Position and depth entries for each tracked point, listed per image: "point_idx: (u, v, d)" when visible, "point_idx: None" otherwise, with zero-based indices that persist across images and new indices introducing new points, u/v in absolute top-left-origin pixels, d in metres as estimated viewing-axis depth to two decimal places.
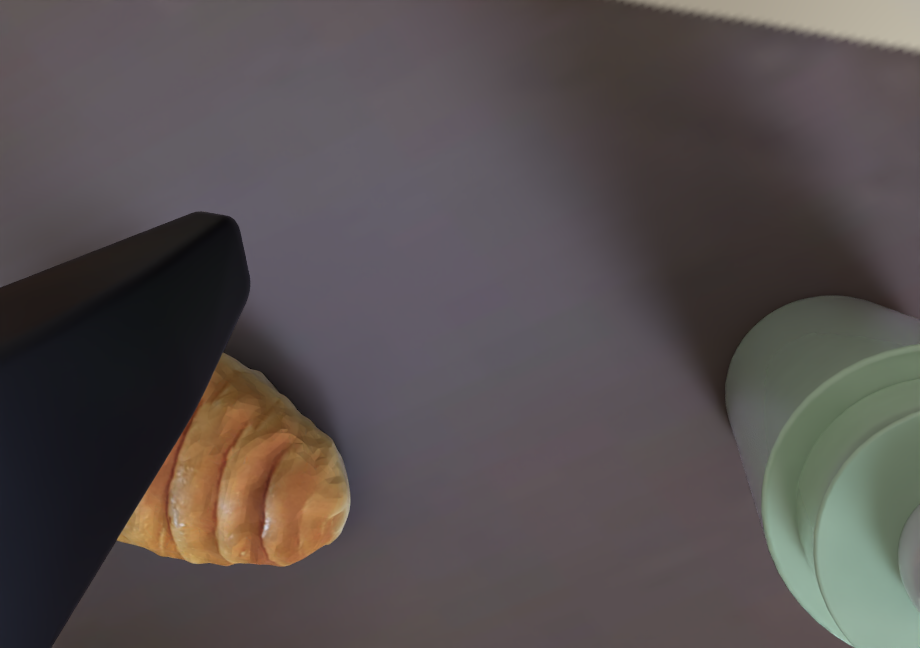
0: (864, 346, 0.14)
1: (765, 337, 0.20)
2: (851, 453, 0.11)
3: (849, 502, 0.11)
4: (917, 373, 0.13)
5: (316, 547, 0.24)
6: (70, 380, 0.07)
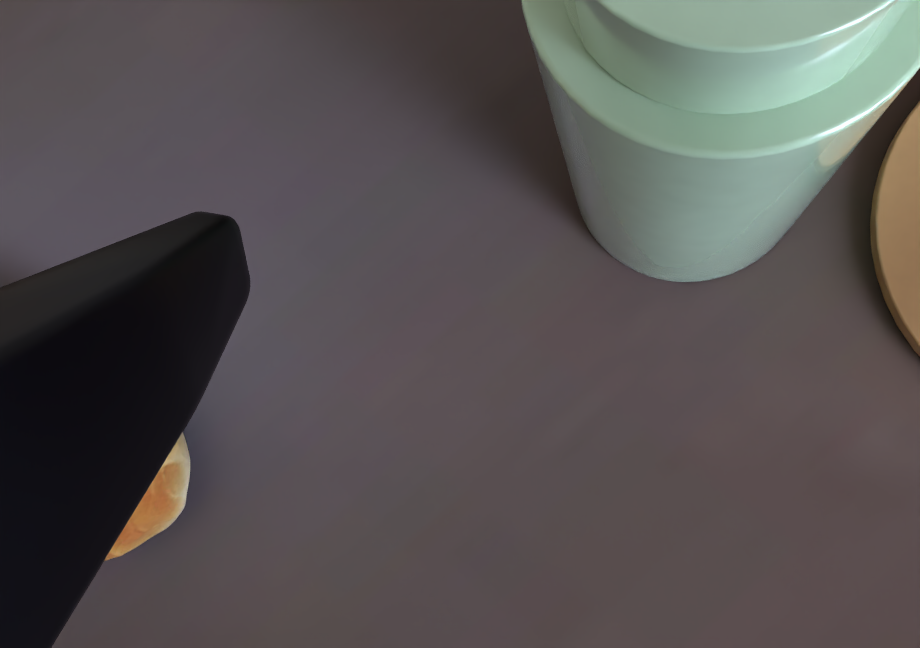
0: None
1: None
2: None
3: None
4: None
5: (149, 513, 0.19)
6: (70, 380, 0.07)
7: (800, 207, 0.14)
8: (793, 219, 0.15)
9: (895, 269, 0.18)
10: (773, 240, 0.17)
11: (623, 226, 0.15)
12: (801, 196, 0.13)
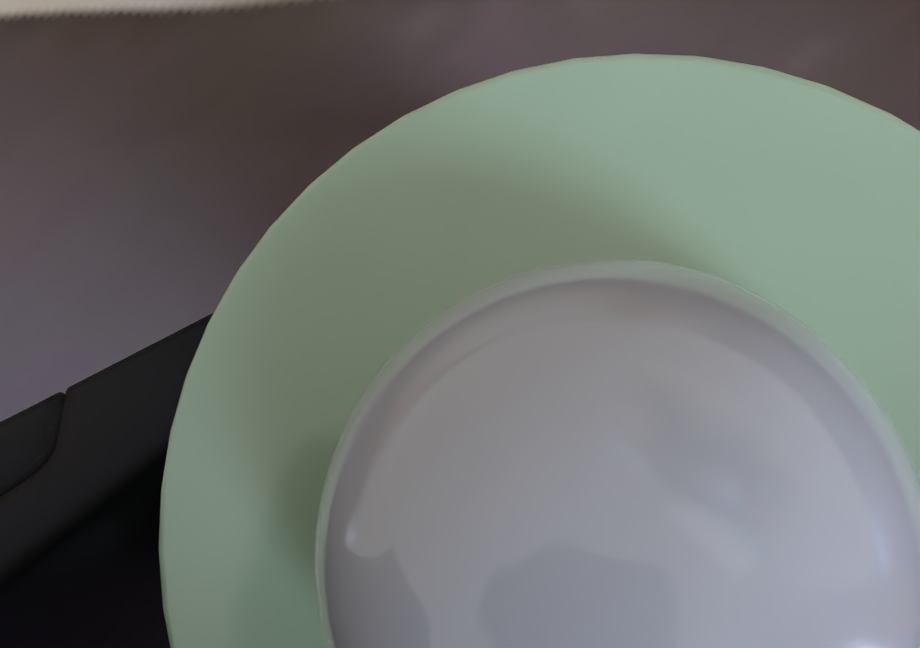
0: None
1: None
2: (202, 344, 0.04)
3: (216, 480, 0.04)
4: None
5: None
6: None
7: None
8: None
9: None
10: None
11: None
12: None
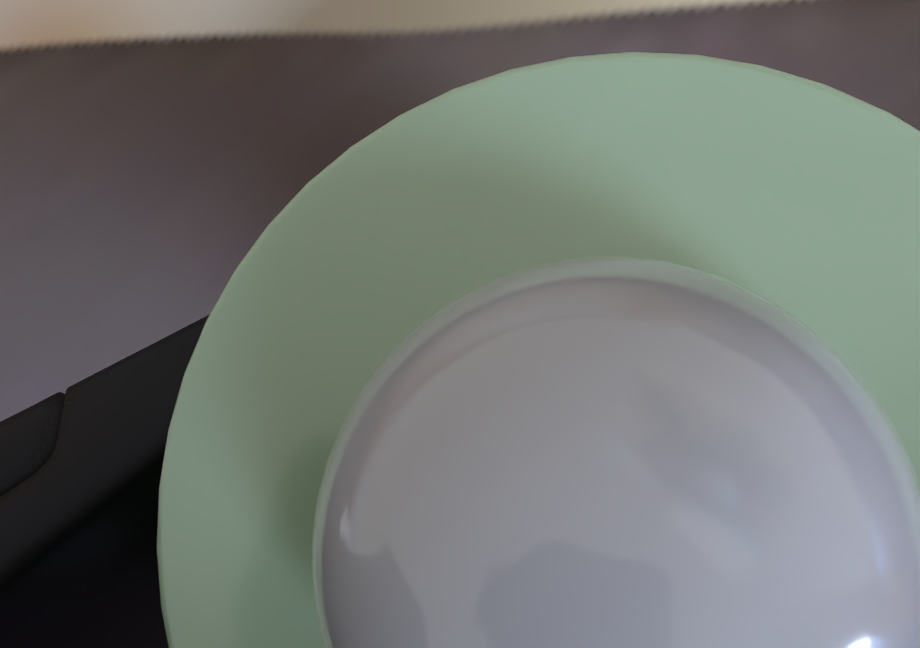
0: None
1: None
2: (198, 342, 0.04)
3: (215, 479, 0.04)
4: None
5: None
6: None
7: None
8: None
9: None
10: None
11: None
12: None
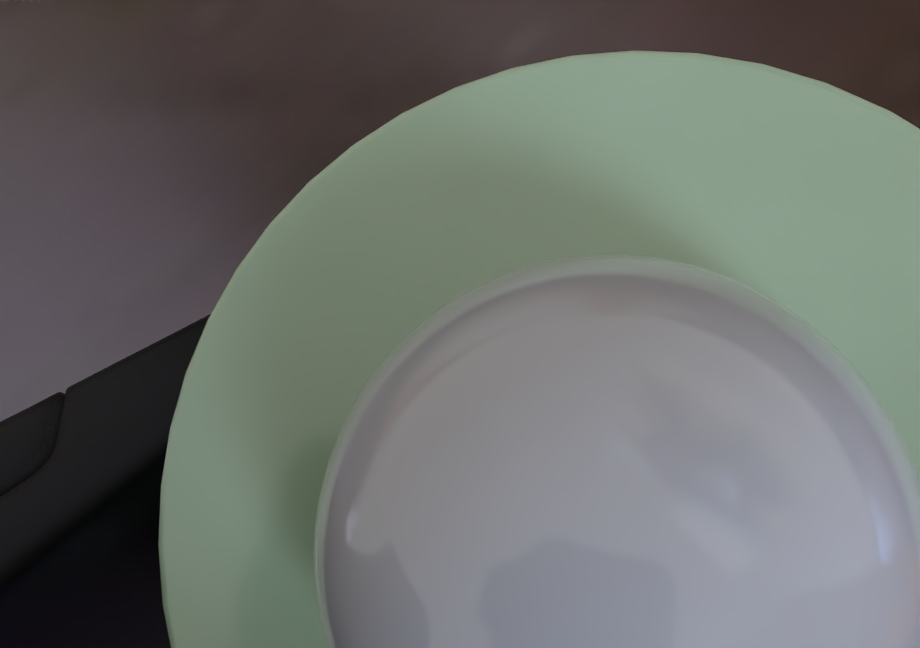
0: None
1: None
2: (200, 342, 0.04)
3: (217, 477, 0.04)
4: None
5: None
6: None
7: None
8: None
9: None
10: None
11: None
12: None
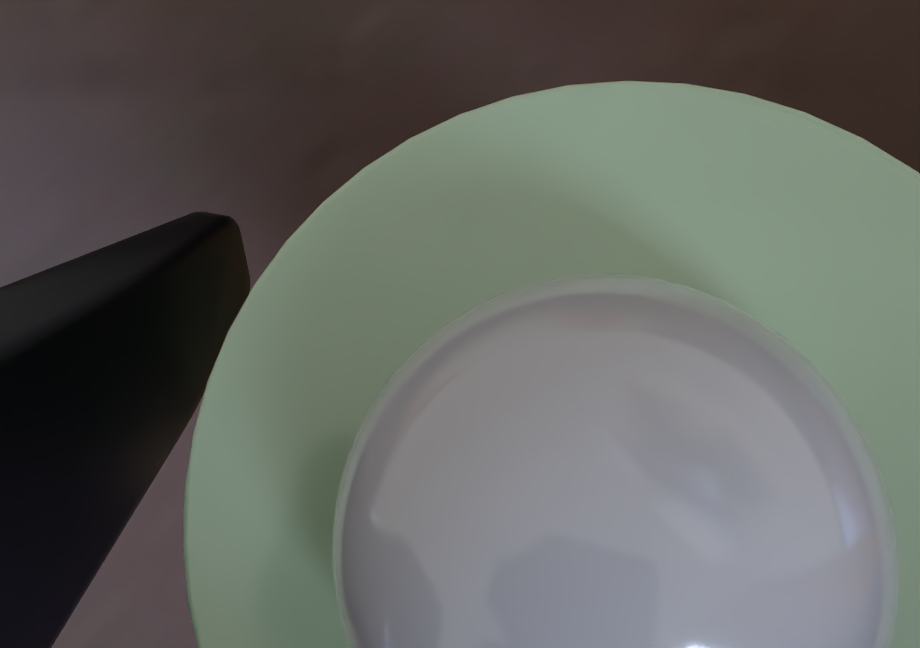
0: None
1: None
2: (223, 351, 0.04)
3: (237, 479, 0.04)
4: None
5: None
6: (70, 380, 0.07)
7: None
8: None
9: None
10: None
11: None
12: None
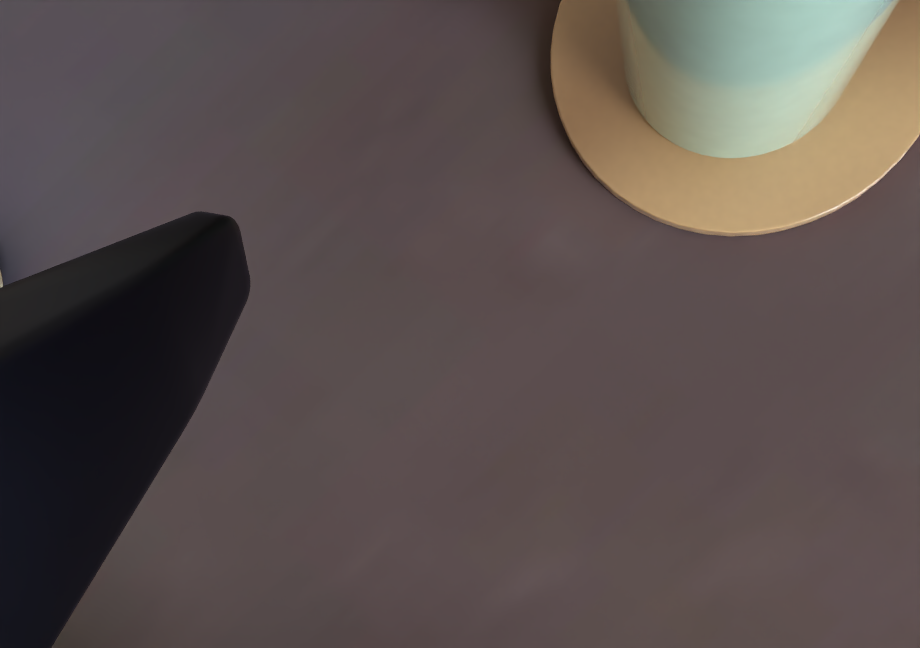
0: None
1: None
2: None
3: None
4: None
5: None
6: (70, 380, 0.07)
7: (855, 52, 0.15)
8: (846, 74, 0.16)
9: (564, 93, 0.21)
10: (824, 103, 0.17)
11: (680, 83, 0.16)
12: (858, 30, 0.13)
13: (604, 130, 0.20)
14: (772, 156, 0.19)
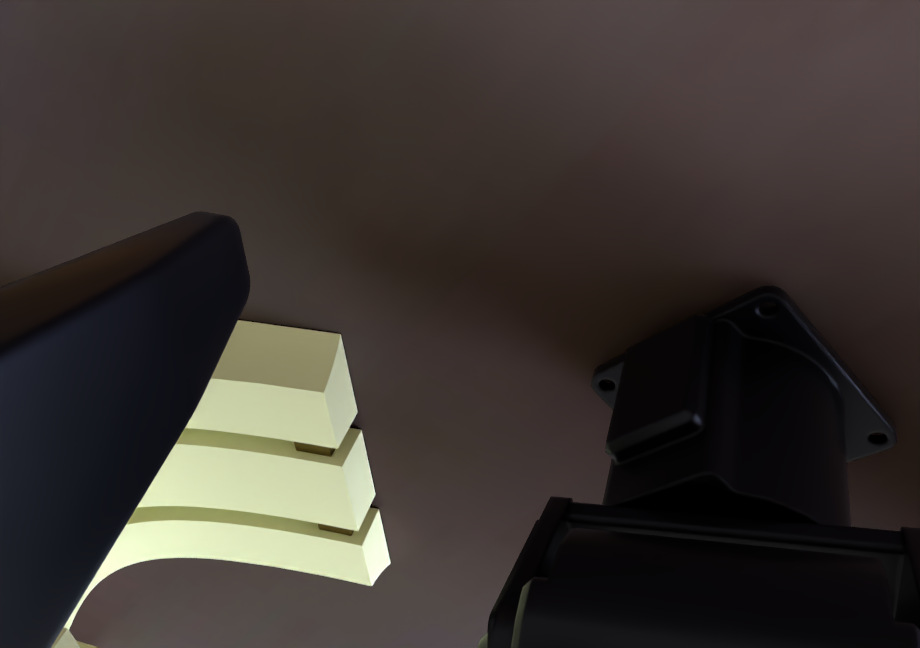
0: None
1: None
2: None
3: None
4: None
5: None
6: (70, 380, 0.07)
7: None
8: None
9: None
10: None
11: None
12: None
13: None
14: None
